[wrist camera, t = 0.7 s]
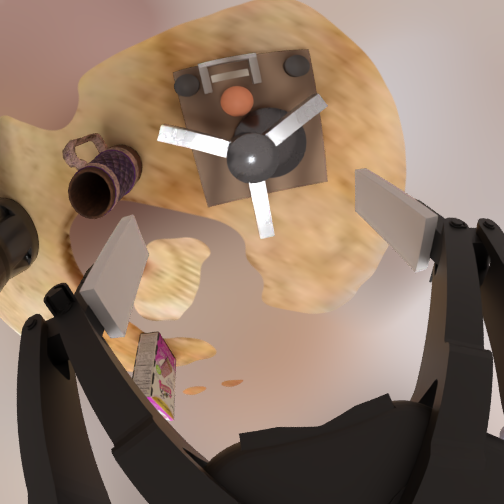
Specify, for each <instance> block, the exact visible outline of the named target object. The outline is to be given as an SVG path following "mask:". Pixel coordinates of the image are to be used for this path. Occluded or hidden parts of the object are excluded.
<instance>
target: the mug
mask: <svg viewBox="0 0 504 504" xmlns="http://www.w3.org/2000/svg"><path fill="white" fill-rule="evenodd" d="M88 141H92V142H93V143H94V144H95V146H96V148H97V149H98V151H99V153H100V154H99V155H98V156H96V157H95V159H94V160H92V161H91V162H90V163H88V164H87V162H86V161H85V160H81V159H79V158H78V157H77V155H76V153H75V147H76V146H78V145H81V144H83V143H85V142H88ZM63 158H64V160H65V162H66V163H67V164H68V165H69V166H70V167H76V168H77V170H78V172H76V173H75V175H74V176H73V178H72V179H71V181H70V183H69V189H68V194H69V200H70V202H71V205H72V207H73V208H74V209H75V211H76V212H77V213H79V214H80V215H82V216H83V217H86V218H89V219H97V218H100V217H102V216H104V215H106V214H107V213H108V212H109V211H111V209H113V208H114V206H115V205H116V203H117V202H118V201H119V200H120V199H121V198H122V197H123V196H124V195H126V194H127V193H129V192H130V191H131V189H132V188H133V187H134V185H135V184H136V182H137V181H138V180H139V178H140V175H141V172H142V163H141V159H140V157H139V155H138V154H137V152H136V151H135V150H133V149H132V148H131V147H129V146H126V145H116V146H113V147H110V148H109V149H108V147H107V145H106V143H105V142H104V140H103V138H102V137H101V136H100V135H99V134H97V133H95V134H90V135H87V136H84V137H82V138H78V139H74V140H70V141H69V142H68V144H67V145H66V146H65V148H64V150H63Z"/></svg>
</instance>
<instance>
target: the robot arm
mask: <svg viewBox="0 0 504 504" xmlns="http://www.w3.org/2000/svg"><path fill="white" fill-rule="evenodd" d="M355 211H356V212H357V213H358V214H359V215H360V216H361V217H362V218H363V219H364V220H365V221H366V222H367V223H368V224H369V225H370V226H371V227H372V228H373V229H374V230H375V231H376V232H377V233H378V234H379V235H380V236H381V237H382V238H383V239H384V240H385V241H386V242H387V243H388V244H389V245H390V246H391V247H392V248H393V249H394V250H395V251H396V252H397V253H398V254H399V255H400V256H401V257H402V259H403V260H404V261H405V262H406V263H407V264H408V265H409V266H410V267H411V268H412V269H413V271H414V272H419V271H422V270H425V269H427V267H428V263H429V259H430V258H431V259H432V260H433V261H434V262H435V263H434V266H433V270H432V274H431V277H430V281H429V282H432V292H431V303H430V312H429V320H428V328H427V334H426V340H425V346H424V352H423V357H422V362H421V367H420V371H419V376H418V380H417V384H416V388H415V391H414V393H413V396H412V398H411V400H410V401H405V400H399V401H392V400H391V398H390V396H389V394H388V393H387V394H385V395H383V396H380V397H378V398H375V399H372V400H370V401H367V402H364V403H362V404H359V405H356V406H354V407H353V408H351V409H349V410H348V411H346V412H344V413H343V414H341V415H340V416H338V417H336V418H334V419H333V420H331V421H329V422H327V423H326V424H324V425H322V426H318V427H276V428H270V429H265V430H259V431H253V432H247V433H240V434H239V436H240V442H238V443H236V444H234V445H232V446H230V447H228V448H226V449H225V450H223V451H222V452H220V453H218V454H217V455H216V456H215V457H213V458H212V459H211V461H208V460H207V459H206V458H204V457H203V456H202V455H201V454H200V453H198V452H197V451H196V450H195V449H194V448H193V447H192V446H191V445H189V444H188V443H187V442H186V441H185V440H184V439H183V438H182V436H181V435H180V434H179V433H178V432H177V431H176V430H175V429H174V428H173V427H172V426H171V425H170V424H169V423H168V422H167V420H166V419H165V418H164V417H163V416H162V415H161V414H160V413H159V411H158V410H157V409H156V408H155V407H154V406H153V404H152V403H151V402H150V401H149V400H148V398H147V397H146V396H145V395H144V393H143V392H142V391H141V390H140V388H139V387H138V386H137V385H136V383H135V382H134V381H133V379H132V378H131V377H130V375H129V374H128V373H127V371H126V370H125V368H124V367H123V366H122V364H121V363H120V361H119V360H118V359H117V357H116V356H115V354H114V353H113V351H112V350H111V348H110V347H109V345H108V344H107V342H106V341H105V339H104V338H103V337H102V335H103V332H104V330H105V331H106V332H107V334H108V335H109V336H110V338H118V337H125V334H126V330H127V326H128V322H129V318H130V315H131V311H132V308H133V304H134V300H135V297H136V294H137V290H138V287H139V284H140V280H141V277H142V274H143V271H144V268H145V265H146V262H147V259H148V256H149V253H148V250H147V248H146V245H145V243H144V240H143V238H142V235H141V233H140V230H139V228H138V225H137V222H136V220H135V217H134V215H130V216H126V217H123V218H122V219H121V220H120V222H119V223H118V225H117V226H116V228H115V230H114V231H113V233H112V235H111V236H110V238H109V239H108V241H107V243H106V244H105V246H104V248H103V249H102V251H101V253H100V255H99V256H98V258H97V260H96V262H95V263H94V264H93V265H92V266H91V267H90V268H89V269H88V270H87V271H86V273H85V275H84V277H83V279H82V280H81V282H80V284H79V286H78V288H77V290H76V292H75V294H73V293H72V291H71V290H70V288H69V286H68V285H67V284H66V283H60V284H57V285H56V286H54V287H53V288H51V289H50V290H49V291H48V292H47V294H46V295H45V297H44V303H45V304H46V306H47V307H48V309H49V310H50V311H51V313H52V314H53V316H54V318H51V319H49V320H47V321H45V320H44V319H43V317H42V316H41V315H40V314H35V315H33V316H32V317H29V318H28V320H26V322H25V324H24V326H23V328H22V334H21V342H20V351H19V361H18V374H17V422H18V435H19V445H20V453H21V461H22V467H23V472H24V478H25V482H26V487H27V491H28V504H111V502H110V499H109V497H108V493H107V491H106V489H105V486H104V483H103V481H102V478H101V475H100V473H99V470H98V467H97V464H96V461H95V458H94V455H93V452H92V449H91V445H90V441H89V438H88V434H87V430H86V426H85V422H84V418H83V414H82V409H81V404H80V399H79V394H78V388H77V382H76V376H77V378H78V380H79V382H80V384H81V386H82V388H83V390H84V393H85V395H86V396H87V398H88V400H89V402H90V404H91V406H92V408H93V410H94V412H95V413H96V415H97V417H98V419H99V421H100V422H101V424H102V426H103V427H104V429H105V431H106V432H107V434H108V436H109V437H110V439H111V440H112V442H113V444H114V448H112V449H111V450H112V454H113V456H114V458H115V460H116V461H117V463H118V464H119V465H120V467H121V468H122V470H123V471H124V473H125V474H126V475H127V477H128V478H129V479H130V481H131V482H132V483H133V485H134V486H135V487H136V488H137V490H138V491H139V492H140V494H141V495H142V496H143V497H144V498H145V500H146V501H147V502H148V503H149V504H504V427H503V428H502V429H501V431H500V438H498V437H496V436H493V435H491V434H489V433H487V427H488V420H489V412H490V405H491V393H492V377H493V357H494V363H495V367H496V373H497V379H498V385H499V392H500V398H501V404H502V409H503V413H504V233H503V231H502V230H501V229H500V227H499V226H498V225H497V224H496V223H495V222H493V221H492V220H490V219H484V218H482V219H479V220H478V223H477V228H469V227H468V225H467V224H466V223H465V222H463V221H462V220H460V219H456V218H446V219H444V218H443V217H442V216H440V215H439V214H438V213H436V212H435V211H434V210H432V209H431V208H429V207H428V206H426V205H425V204H424V203H422V202H421V201H419V200H417V199H414V198H413V197H411V196H410V195H408V194H407V193H405V192H404V191H402V190H401V189H399V188H397V187H396V186H394V185H393V184H391V183H390V182H388V181H386V180H385V179H383V178H381V177H380V176H378V175H376V174H375V173H373V172H371V171H370V170H368V169H366V168H364V169H356V170H355ZM37 254H38V237H37V233H36V230H35V227H34V224H33V222H32V220H31V218H30V217H29V215H28V214H27V212H26V211H25V210H24V209H23V208H22V207H21V206H20V205H19V204H18V203H16V202H15V201H13V200H11V199H7V198H2V199H0V292H1V290H2V289H3V287H4V286H5V285H6V283H7V282H8V280H9V279H11V278H13V277H14V276H16V275H18V274H20V273H22V272H23V271H25V270H27V269H28V268H29V267H30V266H31V264H32V263H33V262H34V261H35V259H36V257H37ZM489 264H490V266H489ZM483 319H484V322H485V325H486V329H487V333H488V336H489V341H490V345H491V348H492V352H491V351H490V350H485V349H484V337H483V336H484V332H483ZM492 353H493V356H492ZM75 373H76V375H75Z"/></svg>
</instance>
